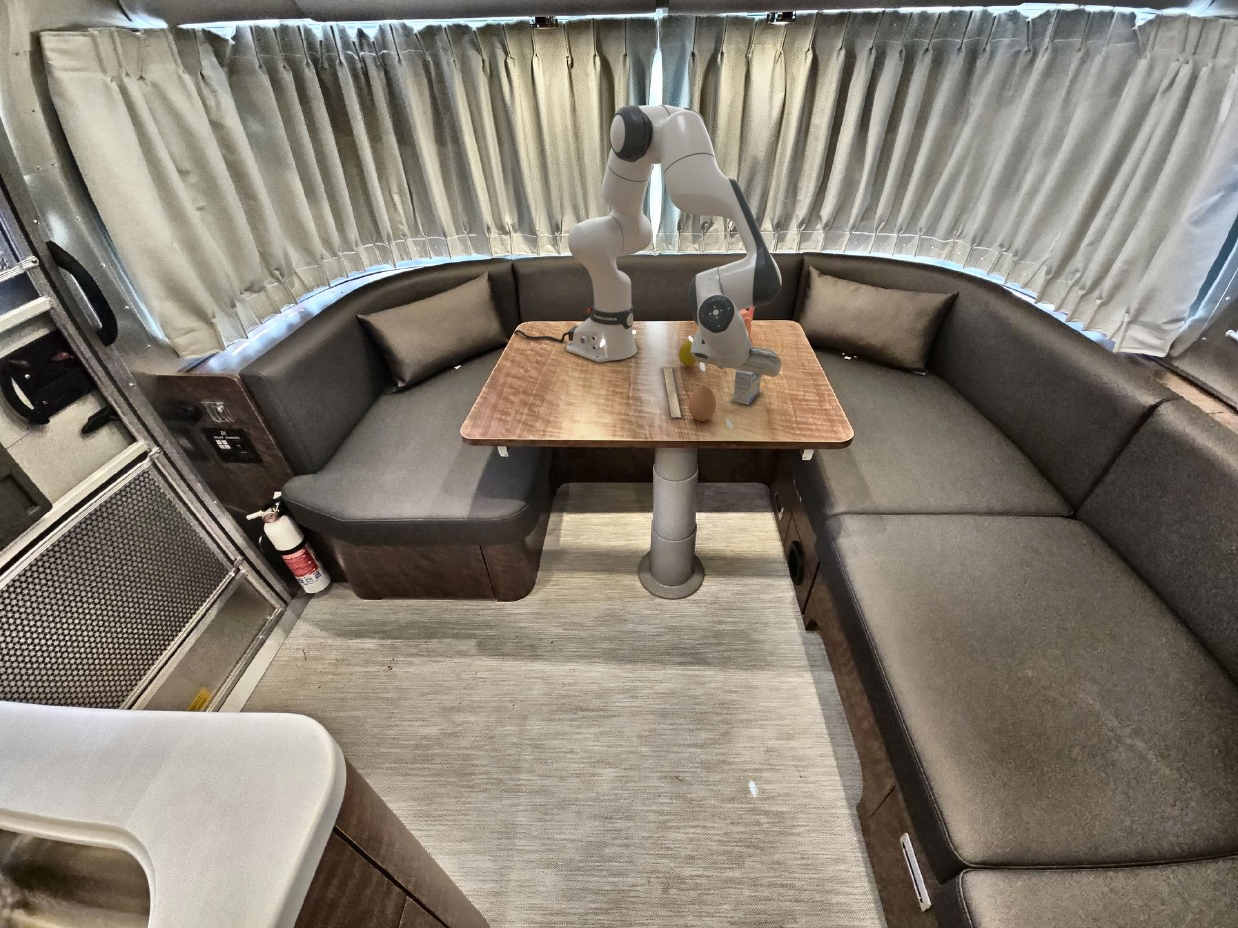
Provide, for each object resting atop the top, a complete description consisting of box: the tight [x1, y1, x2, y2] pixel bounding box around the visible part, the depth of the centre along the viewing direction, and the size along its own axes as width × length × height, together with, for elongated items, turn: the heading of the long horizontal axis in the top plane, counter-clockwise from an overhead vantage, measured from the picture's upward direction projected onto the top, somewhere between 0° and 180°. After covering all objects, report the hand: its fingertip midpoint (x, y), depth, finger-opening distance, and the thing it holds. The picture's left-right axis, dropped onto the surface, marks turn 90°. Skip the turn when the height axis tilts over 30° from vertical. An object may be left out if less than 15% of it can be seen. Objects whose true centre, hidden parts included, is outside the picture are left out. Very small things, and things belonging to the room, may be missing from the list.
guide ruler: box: [662, 367, 682, 419], centre depth 143 cm, size 2×28×1 cm, turn 0°
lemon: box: [678, 340, 698, 368], centre depth 153 cm, size 6×6×8 cm
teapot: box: [740, 307, 756, 336], centre depth 169 cm, size 14×14×11 cm
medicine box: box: [732, 369, 762, 406], centre depth 137 cm, size 8×4×9 cm, turn 148°
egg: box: [687, 385, 717, 422], centre depth 129 cm, size 7×7×9 cm
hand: (740, 370), depth 128 cm, fingers open, 8 cm apart
